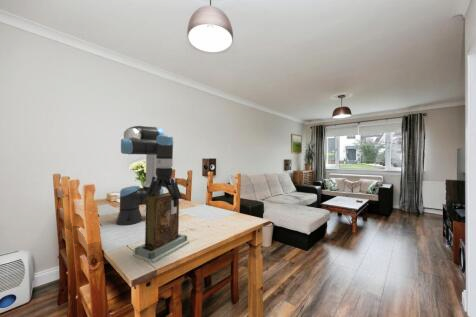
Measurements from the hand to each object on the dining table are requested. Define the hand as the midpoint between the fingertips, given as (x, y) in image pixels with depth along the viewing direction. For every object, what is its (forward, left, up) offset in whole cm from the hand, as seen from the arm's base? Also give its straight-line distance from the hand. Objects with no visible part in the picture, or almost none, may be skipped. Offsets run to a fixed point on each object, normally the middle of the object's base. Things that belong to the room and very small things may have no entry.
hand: (163, 211), depth 95 cm
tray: (0, 0, -18) cm, 18 cm away
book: (0, 0, -17) cm, 17 cm away
